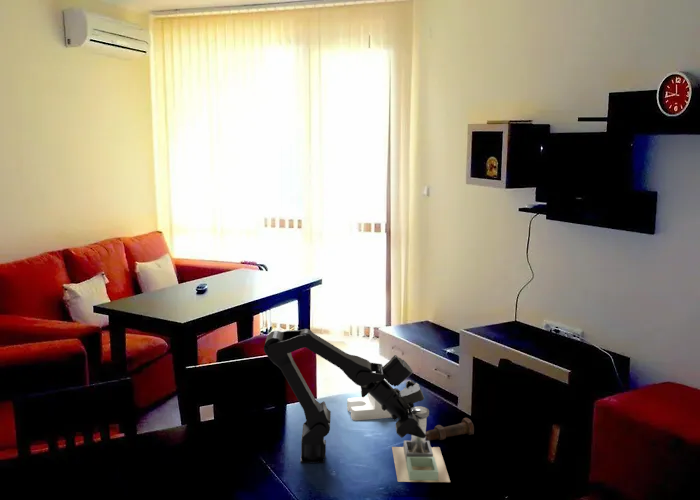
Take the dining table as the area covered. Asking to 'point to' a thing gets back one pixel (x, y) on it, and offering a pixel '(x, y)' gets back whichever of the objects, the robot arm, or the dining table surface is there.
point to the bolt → (451, 430)
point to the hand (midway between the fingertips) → (423, 432)
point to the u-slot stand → (366, 408)
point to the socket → (422, 473)
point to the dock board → (402, 467)
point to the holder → (407, 454)
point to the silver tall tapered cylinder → (422, 415)
